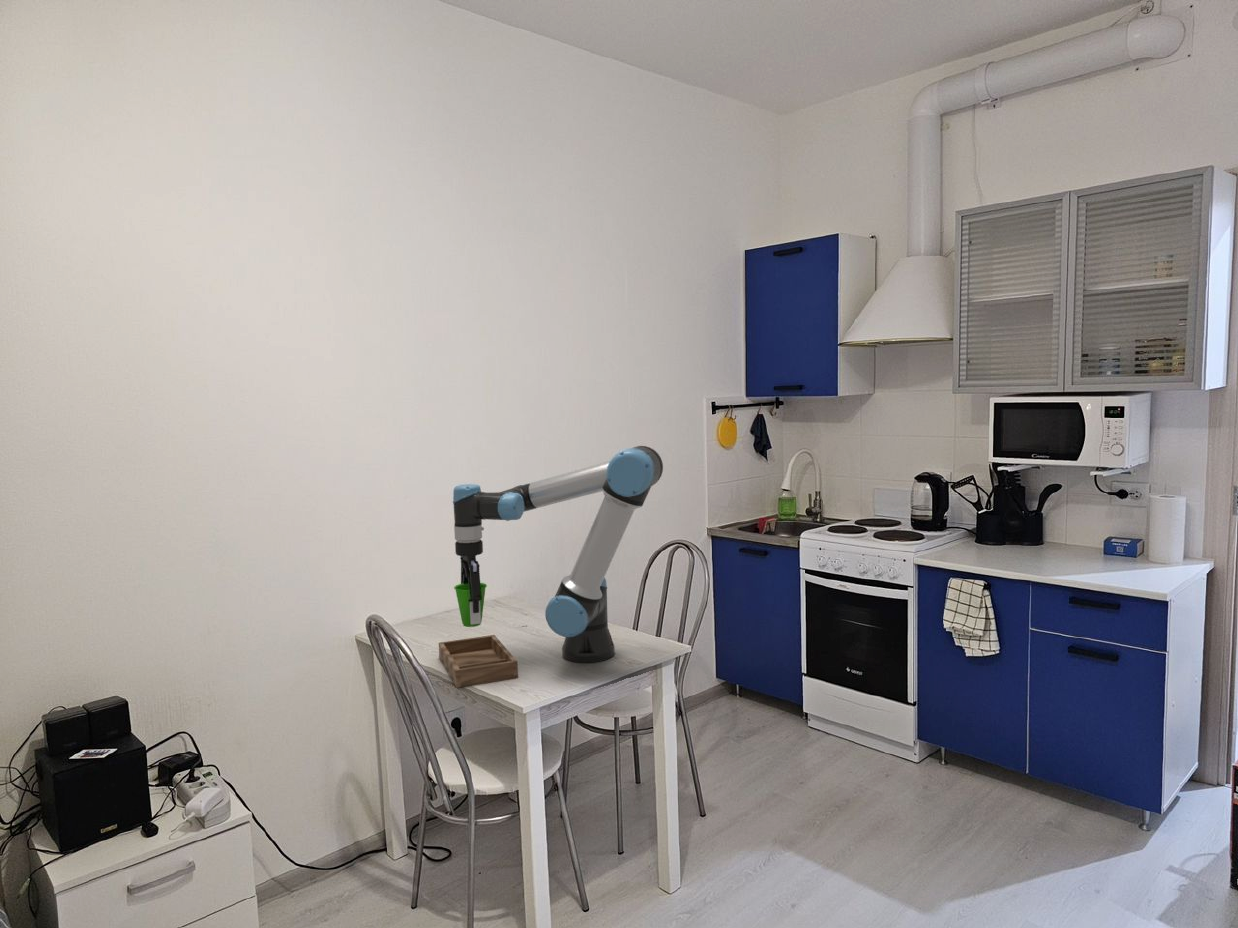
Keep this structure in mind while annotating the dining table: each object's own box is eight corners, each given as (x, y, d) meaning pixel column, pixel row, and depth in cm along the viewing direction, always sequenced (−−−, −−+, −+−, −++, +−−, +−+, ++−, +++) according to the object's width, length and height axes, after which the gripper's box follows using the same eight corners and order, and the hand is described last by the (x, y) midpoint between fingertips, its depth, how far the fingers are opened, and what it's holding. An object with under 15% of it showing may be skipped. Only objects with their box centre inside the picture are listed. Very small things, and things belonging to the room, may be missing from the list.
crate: (518, 677, 218) (517, 661, 217) (456, 687, 212) (455, 670, 211) (495, 649, 242) (494, 634, 242) (439, 657, 236) (438, 642, 236)
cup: (481, 629, 224) (479, 590, 223) (450, 628, 226) (448, 589, 225) (492, 620, 233) (491, 582, 232) (463, 619, 234) (461, 581, 233)
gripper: (491, 545, 218) (494, 627, 220) (473, 532, 238) (477, 608, 240) (463, 548, 215) (466, 631, 217) (448, 535, 235) (451, 611, 238)
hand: (472, 619), depth 229 cm, fingers closed on cup, 9 cm apart
